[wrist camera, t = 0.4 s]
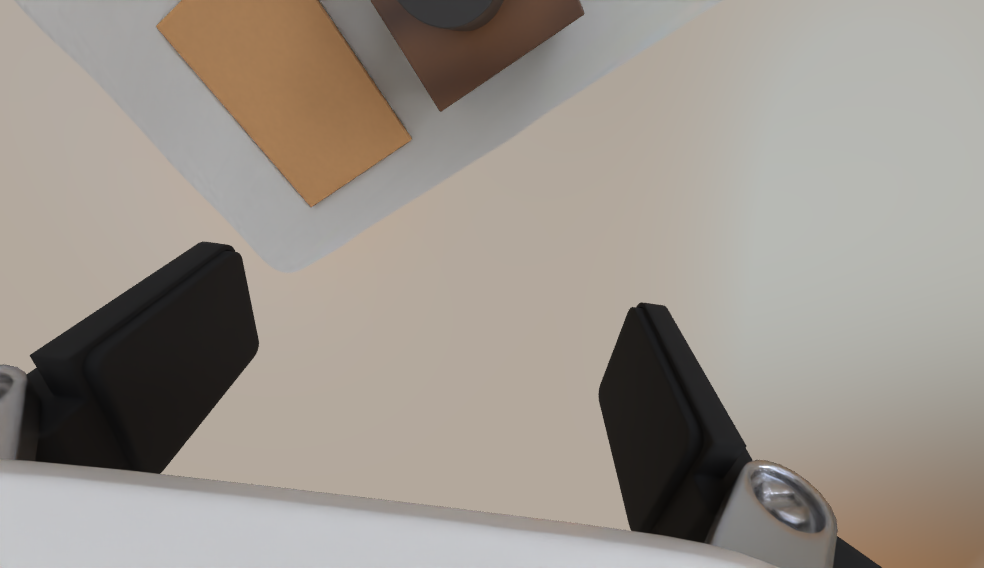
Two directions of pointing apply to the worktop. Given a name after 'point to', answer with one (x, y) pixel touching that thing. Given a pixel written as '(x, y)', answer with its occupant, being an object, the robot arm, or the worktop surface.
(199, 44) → the mat
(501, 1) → the dark grey cylinder
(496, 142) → the worktop surface
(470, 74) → the wooden frame
